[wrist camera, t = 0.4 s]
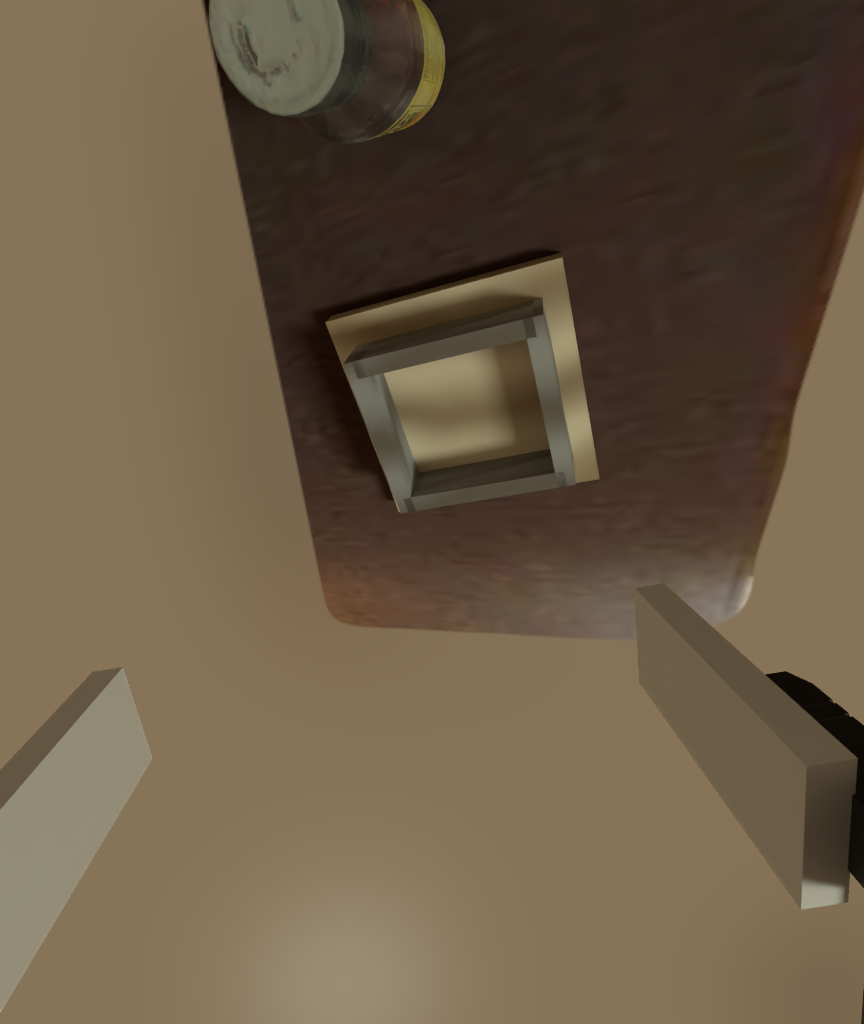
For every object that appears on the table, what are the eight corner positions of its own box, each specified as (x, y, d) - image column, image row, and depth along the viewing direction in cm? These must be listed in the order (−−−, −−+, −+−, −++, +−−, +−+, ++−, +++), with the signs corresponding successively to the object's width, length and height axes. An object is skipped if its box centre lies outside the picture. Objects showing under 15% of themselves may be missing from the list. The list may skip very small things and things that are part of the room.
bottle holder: (331, 315, 41) (308, 339, 37) (561, 252, 37) (563, 271, 33) (402, 502, 50) (390, 537, 46) (597, 468, 45) (603, 505, 41)
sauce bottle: (334, 116, 35) (155, 134, 19) (344, -25, 31) (131, -154, 15) (443, 141, 35) (357, 180, 18) (466, 3, 31) (383, -99, 15)
